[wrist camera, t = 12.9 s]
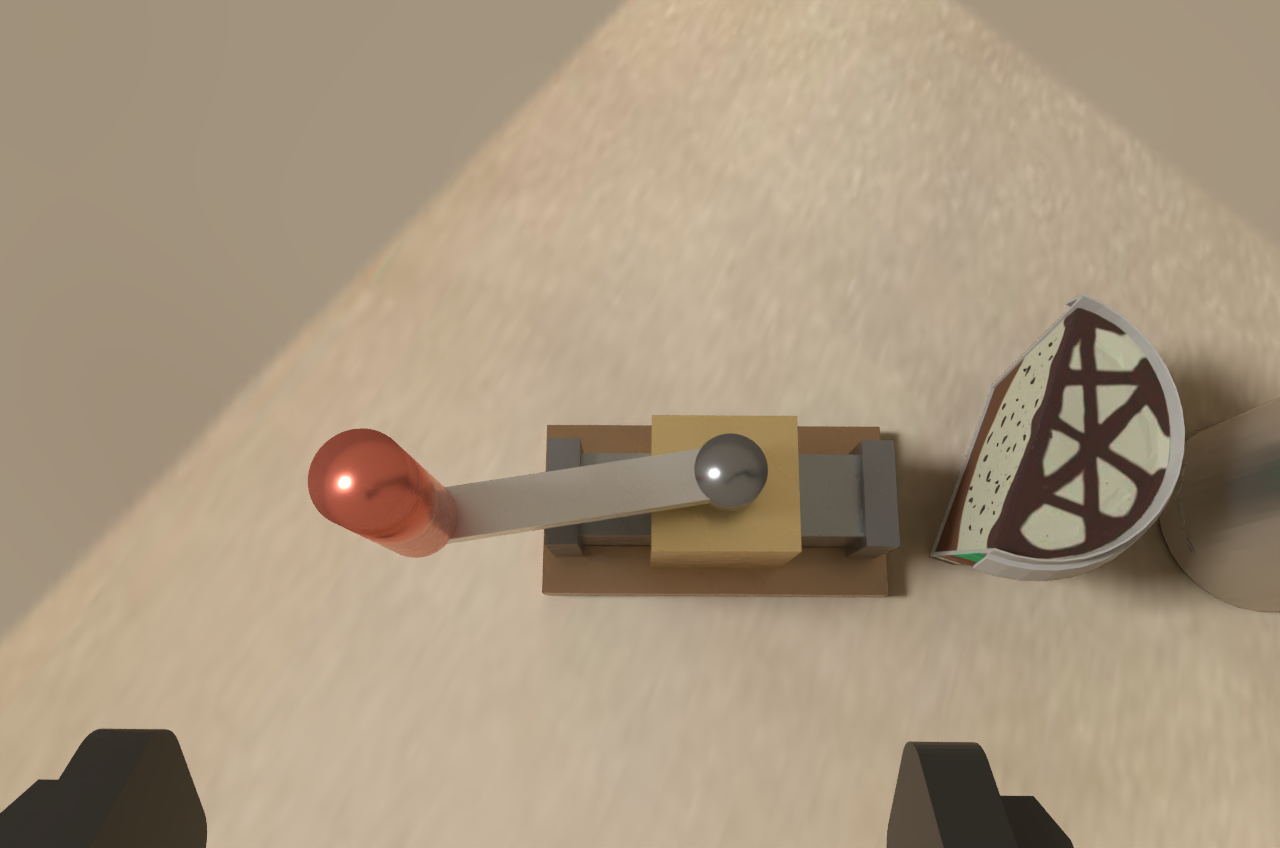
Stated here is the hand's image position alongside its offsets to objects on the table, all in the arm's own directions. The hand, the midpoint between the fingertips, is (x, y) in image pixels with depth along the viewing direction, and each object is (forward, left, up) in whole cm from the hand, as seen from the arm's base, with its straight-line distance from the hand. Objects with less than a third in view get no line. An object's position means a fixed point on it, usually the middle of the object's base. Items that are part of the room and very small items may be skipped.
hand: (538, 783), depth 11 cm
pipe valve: (-4, -9, -36) cm, 37 cm away
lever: (+1, -8, -26) cm, 28 cm away
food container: (-19, -10, -36) cm, 42 cm away
